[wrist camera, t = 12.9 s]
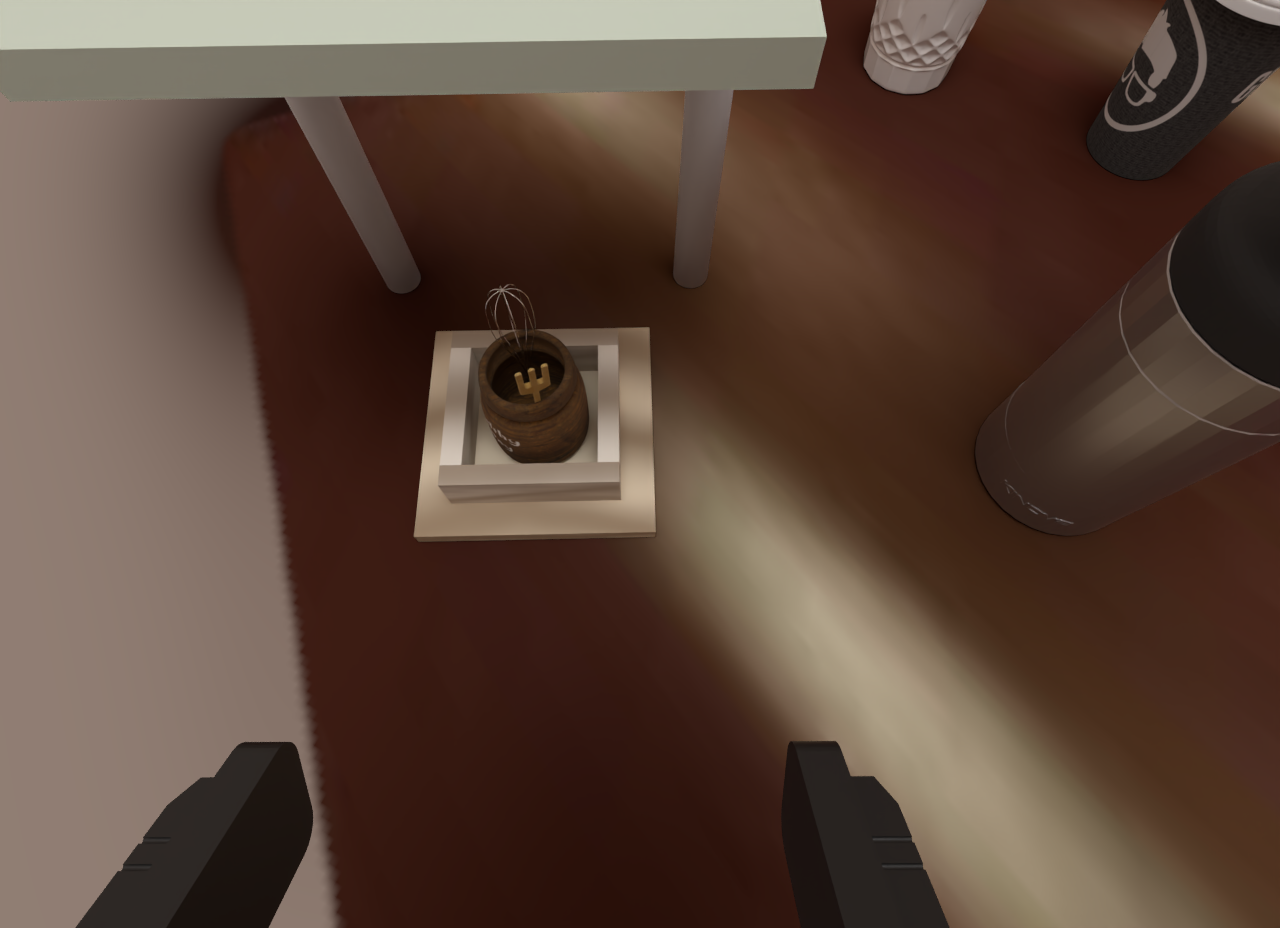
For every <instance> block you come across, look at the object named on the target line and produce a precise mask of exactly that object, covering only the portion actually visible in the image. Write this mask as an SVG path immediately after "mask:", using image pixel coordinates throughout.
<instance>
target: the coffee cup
mask: <svg viewBox="0 0 1280 928" xmlns="http://www.w3.org/2000/svg"><path fill="white" fill-rule="evenodd" d="M1279 67H1280V0H1167V1H1166V2H1165V4H1164V6H1163V7H1162V9H1161V11H1160V13H1159V14H1158V16H1157V18H1156V19H1155V21H1154V23H1153V24H1152V26H1151V28H1150V29H1149V31H1148V33H1147V34H1146V36H1145V38H1144V39H1143V41H1142V43H1141V44H1140V46H1139V48H1138V49H1137V51H1136V53H1135V54H1134V56H1133V58H1132V59H1131V61H1130V63H1129V64H1128V66H1127V68H1126V69H1125V71H1124V73H1123V74H1122V76H1121V78H1120V79H1119V81H1118V83H1117V84H1116V86H1115V88H1114V89H1113V91H1112V93H1111V94H1110V96H1109V98H1108V99H1107V101H1106V103H1105V104H1104V106H1103V108H1102V109H1101V111H1100V113H1099V114H1098V116H1097V118H1096V119H1095V121H1094V123H1093V124H1092V126H1091V128H1090V130H1089V131H1088V134H1087V146H1088V149H1089V152H1090V153H1091V155H1092V157H1093V158H1094V159H1095V160H1096V161H1097V162H1098V163H1099V164H1100V165H1101V166H1102V167H1104V168H1105V169H1106V170H1108V171H1110V172H1112V173H1114V174H1116V175H1118V176H1121V177H1124V178H1128V179H1134V180H1149V179H1154V178H1158V177H1160V176H1162V175H1164V174H1165V173H1167V172H1168V171H1169V170H1170V169H1171V168H1172V167H1173V166H1174V165H1175V164H1177V163H1178V162H1179V161H1180V160H1181V159H1182V158H1183V157H1184V156H1185V155H1186V154H1187V153H1188V152H1189V151H1190V150H1191V149H1193V148H1194V147H1195V146H1196V145H1197V144H1198V143H1199V142H1200V141H1201V140H1202V139H1203V138H1204V137H1205V136H1206V135H1207V134H1208V133H1210V132H1211V131H1212V130H1213V129H1214V128H1215V127H1216V126H1217V125H1218V124H1219V123H1220V122H1221V121H1222V120H1223V119H1224V118H1226V117H1227V116H1228V115H1229V114H1230V113H1231V112H1232V111H1233V110H1234V109H1235V108H1236V107H1237V106H1238V105H1239V104H1241V103H1242V102H1243V101H1244V100H1245V99H1246V98H1247V97H1248V96H1249V95H1250V94H1251V93H1252V92H1253V91H1254V90H1255V89H1257V88H1258V87H1259V86H1260V85H1261V84H1262V83H1263V82H1264V81H1265V80H1266V79H1267V78H1268V77H1269V76H1270V75H1272V74H1273V73H1274V72H1275V71H1276V70H1277V69H1278V68H1279Z"/></svg>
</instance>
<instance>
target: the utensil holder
mask: <svg viewBox="0 0 1280 928" xmlns="http://www.w3.org/2000/svg"><path fill="white" fill-rule="evenodd" d="M508 285H513V284H508ZM508 285H506V286H505V287H504V288H503V289H502V287H501V285H500V284H499V287H500V289H493V290H500V291H498V292H500V294H501V293H502V292H503V291H504V290H509V289H514V288H509V289H505V288H506V287H507V286H508ZM513 286H515V285H513ZM515 287H516V286H515ZM493 290H491V291H493ZM515 290H517V291H518V289H517V287H516V289H515ZM491 291H489V293H490V292H491ZM519 291H521V290H519ZM519 291H518V293H519ZM498 292H496V293H498ZM504 292H507V291H504ZM504 292H503V294H502V297H503V295H504ZM521 292H522V293H524V292H523V291H521ZM489 293H488V295H489ZM496 293H495V294H496ZM507 293H509V292H507ZM495 294H493V295H495ZM500 294H499V296H500ZM509 294H511V293H509ZM524 294H525V293H524ZM488 295H487V300H488V301H487V303H488V304H489V300H490V298H491V297H492V296H493V295H492V296H491V297H490V298H489V299H488ZM511 295H513V294H511ZM525 295H526V294H525ZM499 296H498V298H499ZM513 296H514V295H513ZM519 296H520V294H519ZM526 296H527V295H526ZM504 297H505V295H504ZM504 297H503V300H504ZM514 297H515V298H517V297H516V296H514ZM498 298H497V301H498ZM527 298H528V296H527ZM517 299H518V298H517ZM520 299H521V297H520ZM505 300H506V297H505ZM505 300H504V303H505ZM518 300H519V299H518ZM528 300H529V298H528ZM497 301H496V306H497ZM519 301H520V300H519ZM506 302H507V300H506ZM520 302H521V304H522V306H523V310H524V308H525V306H524V305H523V303H522V300H521V301H520ZM487 303H486V306H487ZM529 303H530V300H529ZM507 305H508V302H507ZM530 305H531V303H530ZM486 306H485V314H486ZM496 306H495V319H494V317H493V319H494V321H495V320H496ZM505 306H506V303H505ZM489 307H490V304H489ZM508 308H509V305H508ZM531 308H532V306H531ZM506 309H507V306H506ZM525 310H526V308H525ZM525 310H524V315H525ZM490 311H491V308H490ZM509 311H510V308H509ZM507 312H508V309H507ZM526 312H527V310H526ZM532 312H533V309H532ZM491 314H492V311H491ZM510 314H511V311H510ZM527 314H528V312H527ZM508 315H509V312H508ZM533 315H534V312H533ZM492 316H493V314H492ZM511 317H512V314H511ZM528 317H529V315H528ZM486 318H487V314H486ZM509 318H510V316H509ZM512 320H513V317H512ZM529 320H530V318H529ZM534 320H535V316H534ZM487 321H488V318H487ZM510 321H511V319H510ZM495 323H496V325H497V321H496V322H495ZM513 323H514V320H513ZM530 323H531V321H530ZM488 324H489V321H488ZM511 324H512V321H511ZM525 324H526V316H525ZM514 326H515V323H514ZM489 327H490V324H489ZM512 327H513V324H512ZM531 327H532V324H531ZM497 328H498V331H499V334H500V332H501V331H500V329H499V327H498V325H497ZM535 328H536V322H535ZM515 329H516V326H515ZM490 330H491V327H490ZM513 330H514V327H513ZM491 332H492V330H491ZM492 334H493V332H492ZM501 334H502V332H501ZM501 334H500V338H498V339H496V337H495V336H494V334H493V336H494V338H495V339H496V340H495V341H494V342H493V343H492V344H491V345H490V346H489V347H488V348H487V349H486V351H485V352H484V354H483V356H482V358H481V360H480V364H479V369H478V381H479V388H480V399H481V405H482V409H483V412H484V415H485V418H486V420H487V422H488V425H489V427H490V429H491V431H492V433H493V435H494V437H495V439H496V441H497V443H498V444H499V446H500V447H501V448H502V450H503V451H504V452H505V453H506V454H507V455H508V456H510V457H511V458H512V459H514V460H515V461H517V462H519V463H522V464H532V463H560V462H563V461H564V460H566V459H568V458H569V457H571V456H572V455H573V454H574V453H575V452H576V451H577V450H578V449H579V448H580V446H581V445H582V443H583V442H584V440H585V438H586V435H587V432H588V427H589V408H588V401H587V395H586V389H585V385H584V381H583V378H582V376H581V373H580V371H579V370H578V368H577V366H576V365H575V362H574V360H573V358H572V356H571V354H570V352H569V350H568V349H567V347H566V346H565V345H564V344H563V343H562V342H561V341H560V340H559V339H558V338H556V337H555V336H553V335H551V334H549V333H547V332H544V331H540V330H534V329H533V327H532V329H527V326H526V329H523V330H517V329H516V331H515V330H514V331H513V332H510V333H507V334H505V335H503V334H502V335H503V336H501Z"/></svg>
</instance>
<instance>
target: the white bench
mask: <svg viewBox="0 0 1280 928" xmlns="http://www.w3.org/2000/svg"><path fill="white" fill-rule="evenodd" d="M826 37H827V36H826V30H825V24H824V19H823V13H822V8H821V2H820V0H0V92H2V94H3V95H4V96H6V98H7V99H8V100H9V101H10V102H11V101H71V100H72V101H74V100H133V99H134V100H135V99H198V98H255V97H256V98H257V97H258V98H259V97H285V99H286V101H287V103H288V104H289V106H290V108H291V110H292V112H293V114H294V116H295V117H296V119H297V121H298V123H299V125H300V127H301V128H302V130H303V132H304V134H305V136H306V138H307V139H308V141H309V143H310V145H311V147H312V149H313V150H314V152H315V154H316V156H317V158H318V160H319V162H320V163H321V165H322V167H323V169H324V171H325V173H326V174H327V176H328V178H329V180H330V182H331V184H332V185H333V187H334V189H335V191H336V193H337V195H338V196H339V198H340V200H341V202H342V204H343V206H344V207H345V209H346V211H347V213H348V215H349V217H350V218H351V220H352V222H353V224H354V226H355V228H356V230H357V231H358V233H359V235H360V237H361V239H362V241H363V242H364V244H365V246H366V248H367V250H368V252H369V253H370V255H371V257H372V259H373V261H374V263H375V264H376V266H377V268H378V270H379V272H380V274H381V275H382V277H383V279H384V281H385V283H386V285H387V287H388V288H389V289H390V290H391V291H393V292H395V293H408V292H410V291H412V290H414V289H415V288H416V287H417V286H418V285H419V283H420V280H421V275H420V272H419V270H418V268H417V266H416V264H415V261H414V259H413V257H412V255H411V253H410V251H409V248H408V246H407V244H406V242H405V240H404V238H403V235H402V233H401V231H400V229H399V227H398V225H397V222H396V220H395V218H394V216H393V214H392V211H391V209H390V207H389V205H388V203H387V201H386V198H385V196H384V194H383V192H382V190H381V188H380V185H379V183H378V181H377V179H376V177H375V175H374V172H373V170H372V168H371V166H370V164H369V162H368V159H367V157H366V155H365V153H364V151H363V149H362V146H361V144H360V142H359V140H358V138H357V136H356V133H355V131H354V129H353V127H352V125H351V123H350V120H349V118H348V116H347V114H346V112H345V110H344V107H343V105H342V103H341V101H340V99H339V97H338V96H383V95H444V94H506V93H568V92H629V91H685V104H684V119H683V134H682V149H681V164H680V179H679V194H678V208H677V223H676V238H675V253H674V268H673V277H674V279H675V281H676V282H677V283H678V284H679V285H681V286H682V287H685V288H696V287H699V286H701V285H702V284H703V283H704V282H705V281H706V279H707V275H708V268H709V261H710V254H711V246H712V239H713V232H714V225H715V218H716V211H717V203H718V196H719V189H720V182H721V175H722V168H723V160H724V153H725V146H726V139H727V132H728V124H729V117H730V110H731V103H732V96H733V90H753V89H813V88H814V84H815V80H816V76H817V72H818V68H819V64H820V61H821V57H822V53H823V49H824V45H825V41H826Z"/></svg>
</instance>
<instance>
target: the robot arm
mask: <svg viewBox="0 0 1280 928" xmlns="http://www.w3.org/2000/svg"><path fill="white" fill-rule="evenodd" d="M1278 442H1280V161H1279V162H1275V163H1271V164H1269V165H1266V166H1263V167H1261V168H1258V169H1255V170H1253V171H1251V172H1249V173H1247V174H1246V175H1244V176H1242V177H1240V178H1239V179H1237V180H1236V181H1234V182H1233V183H1231V184H1230V185H1228V186H1227V187H1226V188H1225V189H1224V190H1222V191H1221V192H1220V193H1219V194H1218V195H1216V196H1215V197H1214V198H1213V199H1212V200H1211V201H1210V202H1209V203H1208V204H1207V205H1206V206H1205V207H1204V208H1203V209H1202V210H1201V211H1200V212H1199V213H1198V214H1197V215H1196V216H1195V217H1193V218H1192V219H1191V220H1190V221H1189V222H1188V223H1187V224H1186V225H1185V226H1184V227H1183V228H1182V229H1181V230H1180V231H1179V232H1178V233H1177V234H1176V235H1175V236H1174V237H1173V238H1172V239H1171V240H1170V241H1169V242H1168V243H1167V244H1166V245H1165V246H1164V247H1163V248H1162V249H1161V250H1160V251H1159V252H1158V253H1157V254H1155V255H1154V256H1153V257H1152V258H1151V259H1150V260H1149V261H1148V262H1147V263H1146V264H1145V265H1144V266H1143V267H1142V268H1141V269H1140V270H1139V271H1138V272H1137V273H1136V274H1135V275H1134V276H1133V277H1132V278H1131V279H1130V280H1129V281H1128V282H1127V283H1126V284H1125V285H1124V286H1123V287H1122V288H1121V289H1120V290H1119V291H1118V292H1117V293H1116V294H1115V295H1114V296H1113V297H1112V298H1110V299H1109V300H1108V301H1107V302H1106V303H1105V304H1104V305H1103V306H1102V307H1101V308H1100V309H1099V310H1098V311H1097V312H1096V313H1095V314H1094V315H1093V316H1092V317H1091V318H1090V319H1089V320H1088V321H1087V322H1086V323H1085V324H1084V325H1083V326H1082V327H1081V328H1079V329H1078V330H1077V331H1076V332H1075V333H1074V334H1073V335H1072V336H1071V337H1070V338H1069V339H1068V340H1067V341H1066V342H1065V343H1064V344H1063V345H1062V346H1061V347H1060V348H1059V349H1058V350H1057V351H1056V352H1055V353H1054V354H1053V355H1052V356H1051V357H1049V358H1048V359H1047V360H1046V361H1045V362H1044V363H1043V364H1042V365H1041V366H1040V367H1039V368H1038V369H1037V370H1036V371H1035V372H1034V373H1033V374H1032V375H1031V376H1030V377H1029V378H1028V379H1027V380H1026V381H1024V382H1023V383H1022V384H1021V385H1020V386H1019V387H1018V388H1017V389H1016V390H1015V391H1014V392H1013V393H1012V394H1011V395H1010V396H1009V397H1008V398H1007V399H1006V400H1005V401H1004V402H1003V403H1002V404H1000V405H999V406H998V407H997V408H996V409H995V410H994V411H993V412H992V413H991V414H990V415H989V416H988V417H987V419H986V420H985V422H984V423H983V425H982V426H981V428H980V431H979V433H978V436H977V439H976V448H975V456H976V463H977V469H978V471H979V474H980V477H981V479H982V482H983V484H984V485H985V487H986V489H987V490H988V492H989V493H990V495H991V496H992V498H993V499H994V500H995V501H996V502H997V503H998V504H999V505H1000V506H1001V508H1002V509H1004V510H1005V511H1006V512H1007V513H1009V514H1010V515H1011V516H1012V517H1014V518H1015V519H1016V520H1018V521H1020V522H1022V523H1024V524H1025V525H1027V526H1029V527H1031V528H1033V529H1036V530H1039V531H1042V532H1045V533H1048V534H1056V535H1063V536H1071V535H1083V534H1086V533H1090V532H1093V531H1096V530H1098V529H1101V528H1103V527H1105V526H1107V525H1109V524H1111V523H1113V522H1115V521H1117V520H1119V519H1121V518H1123V517H1125V516H1127V515H1129V514H1131V513H1133V512H1135V511H1138V510H1140V509H1142V508H1144V507H1146V506H1148V505H1150V504H1153V503H1155V502H1157V501H1159V500H1161V499H1163V498H1165V497H1167V496H1169V495H1171V494H1173V493H1175V492H1177V491H1179V490H1181V489H1183V488H1185V487H1187V486H1189V485H1192V484H1194V483H1196V482H1198V481H1200V480H1202V479H1204V478H1206V477H1208V476H1210V475H1212V474H1214V473H1216V472H1218V471H1220V470H1222V469H1224V468H1226V467H1229V466H1231V465H1233V464H1235V463H1237V462H1239V461H1241V460H1243V459H1245V458H1247V457H1249V456H1251V455H1253V454H1255V453H1257V452H1259V451H1261V450H1263V449H1266V448H1268V447H1270V446H1272V445H1274V444H1276V443H1278ZM781 820H782V836H783V844H784V850H785V855H786V860H787V864H788V869H789V874H790V878H791V883H792V888H793V892H794V897H795V901H796V906H797V911H798V915H799V920H800V925H801V928H949V925H948V923H947V921H946V918H945V916H944V913H943V911H942V908H941V906H940V904H939V901H938V899H937V896H936V894H935V892H934V889H933V887H932V884H931V882H930V879H929V877H928V875H927V872H926V870H924V869H923V863H922V860H921V858H920V855H919V853H918V850H917V848H916V846H915V843H913V842H912V838H911V837H912V836H911V834H910V831H909V829H908V826H907V824H906V821H905V819H904V817H903V814H902V812H901V809H900V807H899V805H898V803H897V802H896V801H895V800H894V799H893V797H892V796H891V795H890V794H889V793H888V792H887V791H886V790H885V789H884V787H883V786H882V785H881V784H880V783H879V782H878V781H877V780H876V778H875V777H874V776H850V773H849V771H848V768H847V765H846V762H845V759H844V756H843V754H842V751H841V748H840V746H839V744H838V743H837V742H836V741H791V742H790V743H789V745H788V751H787V760H786V770H785V780H784V790H783V800H782V813H781ZM312 826H313V810H312V805H311V801H310V797H309V793H308V790H307V786H306V782H305V778H304V774H303V770H302V766H301V762H300V758H299V754H298V751H297V748H296V746H295V745H294V744H293V743H292V742H244V743H241V744H239V745H238V746H237V747H236V748H235V749H234V750H233V751H232V752H231V754H230V755H229V757H228V758H227V760H226V761H225V762H224V764H223V765H222V767H221V768H220V769H219V771H218V772H217V774H216V775H215V777H213V778H212V777H210V778H200V779H199V780H198V781H196V782H195V783H194V784H193V785H191V786H190V787H189V788H188V789H187V790H186V791H184V792H183V793H182V794H180V795H179V796H178V797H177V798H176V799H174V800H173V801H172V802H171V803H170V804H168V805H167V806H166V808H165V809H164V810H163V812H162V813H161V814H160V816H159V817H158V819H157V820H156V821H155V822H154V824H153V825H152V827H151V828H150V829H149V830H148V832H147V833H146V834H145V836H144V837H143V838H144V839H143V842H142V844H138V845H137V846H136V848H135V849H134V850H133V852H132V853H131V854H130V856H129V857H128V858H127V860H126V861H125V862H124V864H123V869H122V870H121V871H118V872H117V873H116V874H115V876H114V877H113V878H112V880H111V881H110V882H109V884H108V885H107V886H106V888H105V889H104V891H103V892H102V893H101V895H100V896H99V897H98V898H97V900H96V901H95V903H94V904H93V905H92V906H91V908H90V909H89V910H88V912H87V913H86V915H85V916H84V917H83V918H82V920H81V921H80V923H79V924H78V925H77V926H76V928H269V925H270V924H271V921H272V919H273V917H274V915H275V913H276V911H277V909H278V907H279V905H280V903H281V901H282V899H283V897H284V895H285V893H286V891H287V889H288V887H289V885H290V883H291V881H292V879H293V877H294V875H295V873H296V871H297V869H298V867H299V865H300V863H301V861H302V859H303V856H304V854H305V852H306V850H307V847H308V844H309V841H310V837H311V833H312Z"/></svg>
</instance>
